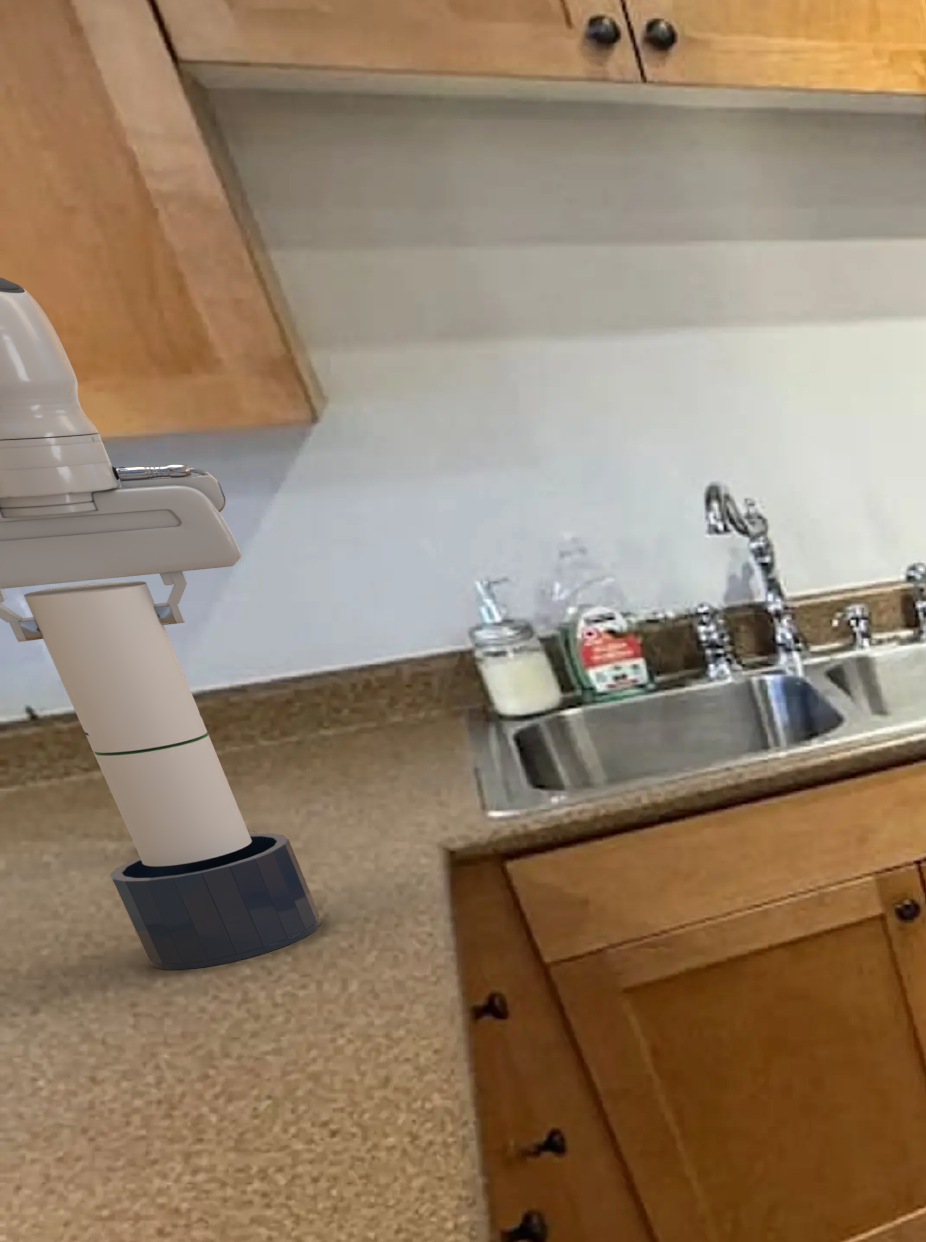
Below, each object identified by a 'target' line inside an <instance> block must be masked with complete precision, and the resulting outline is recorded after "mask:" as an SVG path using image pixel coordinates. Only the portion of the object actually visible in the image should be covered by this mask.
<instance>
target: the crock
mask: <svg viewBox="0 0 926 1242" xmlns="http://www.w3.org/2000/svg"><path fill="white" fill-rule="evenodd" d="M249 835H250V838H251V840H252V842H251V843H250V844H249V845H248V846H246V847H244V848H242V849H239V850H237V851H234V852H231V853H228V854H225V855H222V856H218V857H215V858H210V859H206V860H202V861H197V862H192V863H186V864H179V865H171V866H146V865H144V864H143V863H142V861H141V859H140V857H138V858H135V859H132V860H129V861H128V862H125V863H123V864H121V865H120V866H118V867H116V868H115V869H113V871H112V872H110V874H109V879H110V881H111V883H112V885H113V887H114V889H115V891H116V893H117V895H118V898H119V900H120V902H121V904H122V907H123V909H124V910H125V914H126V915H127V917H128V920H129V921H130V924H131V926H132V928H133V931H134V933H135V935H136V937H137V940H138V942H139V944H140V946H141V949H142V950H143V952H144V954H145V957H146V958H147V960H148V962H149V964H150V966H151V967H153V968H155V969H159V970H166V971H177V970H180V971H181V970H191V969H200V968H201V969H202V968H207V967H213V966H214V967H215V966H220V965H224V964H229V963H233V962H239V961H241V960H246V959H249V958H252V957H256V956H259V955H263V954H266V953H270V952H273V951H276V950H278V949H280V948H284V947H286V946H288V945H291V944H293V943H296V942H298V941H300V940H302V939H304V938H307V937H308V936H310V935H311V934H313V933H314V932H316V931H317V930H318V929H319V928H320V926H321V925H322V920H321V919H320V913H319V911H318V909H317V906H316V904H315V900H314V898H313V896H312V894H311V890H310V888H309V886H308V884H307V881H306V879H305V876H304V874H303V871H302V869H301V866H300V864H299V861H298V858H297V857H296V854H295V852H294V849H293V847H292V844H291V842H290V839H289V838H288V837H287V836H285V835H283V834H278V833H249Z"/></svg>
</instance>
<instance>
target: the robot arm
mask: <svg viewBox="0 0 926 1242" xmlns="http://www.w3.org/2000/svg"><path fill="white" fill-rule="evenodd" d="M71 363H72V362H71V361H70V359H69V357H68V354H67V352H66V350H65V348H64V345H63V343H62V342H61V339H60V337H59V335H58V332H57V331H56V329H55V327H54V325H53V324H52V322H51V321H50V319H49V317H48V315H47V314H46V312H45V311H44V309H43V308H42V307H41V305H40V304H39V303H38V301H37V300H36V299H35V298H34V296H32V294H31V293H30V292H29V291H27V290H26V289H25V288H24V287H23V286H21V285H19V284H18V283H15V282H14V281H11V280H7V279H6V278H4V277H0V619H1V620H3V621H4V622H6V623H8V624H9V626H10V627H11V630H12V632H13V634H14V636H15V638H16V640H17V641H18V643H21V642H29V641H39V640H43V636H42V634H41V632H40V631H39V628H38V625H37V622H36V620H35V619H34V617H33V616H31V617H30V616H29V617H23V616H20V615H19V614H18V613H17V612H15V611H13V610H12V609H11V608H9V607H8V606H7V605H5V604H3V603H4V602H5V601H6V600H7V598H8V596H7V594H6V592H5V590H6V589H16V588H22V587H23V588H24V587H25V588H27V587H35V586H45V585H56V584H65V583H75V582H86V581H96V580H107V579H116V578H126V577H138V576H139V577H140V576H148V575H157V574H159V575H160V578H161V580H162V583H163V585H164V586H172V588H171V591H170V593H169V596H168V597H167V601H166V602H159V603H155V606H154V609H155V611H156V614H158V615H159V621H160V623H161V624H162V625H164V626H166V625H168V626H169V625H176V624H184V623H185V622H186V621H185V617H184V614H183V612H182V609H181V607H180V603H181V599H182V597H183V595H184V592H185V589H186V587H187V585H188V579H187V576H186V574H185V572H188V571H189V572H190V571H200V570H208V569H219V568H229V567H230V568H231V567H233V566H235V565H236V564H237V563H238V561H239V560H240V559H241V557H242V552H241V549H240V548H239V545H238V542H237V541H236V539H235V536H234V534H233V533H232V531H231V528H230V527H229V524H228V523H227V522H226V520H225V518H224V517H223V515H222V513H221V512H222V511H223V510H224V509H225V506H226V503H227V500H226V496H225V493H224V491H223V488H222V485H221V483H220V482H219V480H218V479H217V478H216V476H214V475H213V474H211V473H209V472H208V471H206V470H203V469H200V468H195V467H189V465H188V464H186V463H185V464H183V463H172V464H166V465H159V466H158V465H155V466H149V465H148V466H147V465H146V466H144V465H137V466H136V465H135V466H119V467H115V466H113V465H112V461H111V459H110V457H109V455H108V452H107V450H106V447H105V445H104V442H103V440H102V437H101V435H100V433H99V429H98V428H97V426H96V425H95V424H94V423H93V422H92V420H91V419H90V418H89V417H88V415H86V412H85V411H84V409H83V408H82V405H81V403H80V399H79V381H78V379H77V375H76V372H75V370H74V368H73V366H72V364H71ZM192 473H194V474H198V475H192Z"/></svg>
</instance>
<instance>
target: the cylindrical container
mask: <svg viewBox="0 0 926 1242" xmlns="http://www.w3.org/2000/svg"><path fill="white" fill-rule="evenodd" d="M23 597H24V599H25V601H26V603H27V606H28V608H29V610H30V612H31V614H32V617H34V619H35V620H36V622H37V625H38V628H39V631H40V632H41V634H42V636H43V639H42V640H43V642H44V644H45V646H46V649H47V651H48V653H49V655H50V658H51V660H52V663H53V665H54V667H55V669H56V671H57V674H58V676H59V678H60V681H61V683H62V685H63V688H64V689H65V692H66V694H67V697H68V698H69V701H70V703H71V705H72V708H73V710H74V712H75V714H76V716H77V719H78V721H79V724H80V725H81V728H82V730H83V732H85V737H86V739H87V741H88V744H89V746H90V748H91V751H92V752H93V755H94V758H95V759H96V762H97V764H98V765H99V769H100V771H101V773H102V775H103V777H104V780H105V782H106V784H107V787H108V789H109V791H110V793H111V796H112V798H113V800H114V802H115V805H116V806H117V807H116V808H117V809H118V811H119V813H120V816H121V818H122V820H123V822H124V825H125V827H126V829H127V831H128V834H129V836H130V838H131V840H132V843H133V846H134V847H135V850H136V852H137V854H138V856H139V858H140V859H141V861H142V863H143V864H144V865H146V866H171V865H179V864H186V863H192V862H197V861H202V860H206V859H210V858H215V857H218V856H222V855H225V854H228V853H231V852H234V851H237V850H239V849H242V848H244V847H246V846H248V845H249V844H250V843H251V842H252V840H251V838H250V835H249V834H250V832H249V830H248V828H247V826H246V823H245V820H244V818H243V816H242V813H241V810H240V808H239V805H238V803H237V801H236V799H235V795H234V794H233V791H232V789H231V786H230V783H229V782H228V779H227V776H226V774H225V771H224V769H223V767H222V764H221V762H220V760H219V757H218V755H217V752H216V749H215V747H214V744H213V742H212V740H211V737H210V735H209V732H208V730H207V728H206V725H205V722H204V719H203V717H202V715H201V714H200V711H199V708H198V705H197V702H196V701H195V697H194V696H193V693H192V691H191V687H190V686H189V684H188V681H187V679H186V676H185V674H184V671H183V669H182V667H181V664H180V661H179V659H178V657H177V654H176V652H175V650H174V647H173V644H172V643H171V642H172V641H171V640H170V637H169V635H168V632H167V631H166V628H165V625H162V624H161V623H160V621H159V615H158V614H156V611H155V609H154V606H155V604H156V603H155V601H154V598H153V595H152V594H151V591H150V589H149V586H148V584H147V582H146V581H142V580H123V581H105V582H95V583H94V582H93V583H84V584H75V585H68V586H60V587H59V586H58V587H52V588H46V589H42V590H41V589H40V590H35V591H31V592H28V593H25V594H24V595H23Z"/></svg>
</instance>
